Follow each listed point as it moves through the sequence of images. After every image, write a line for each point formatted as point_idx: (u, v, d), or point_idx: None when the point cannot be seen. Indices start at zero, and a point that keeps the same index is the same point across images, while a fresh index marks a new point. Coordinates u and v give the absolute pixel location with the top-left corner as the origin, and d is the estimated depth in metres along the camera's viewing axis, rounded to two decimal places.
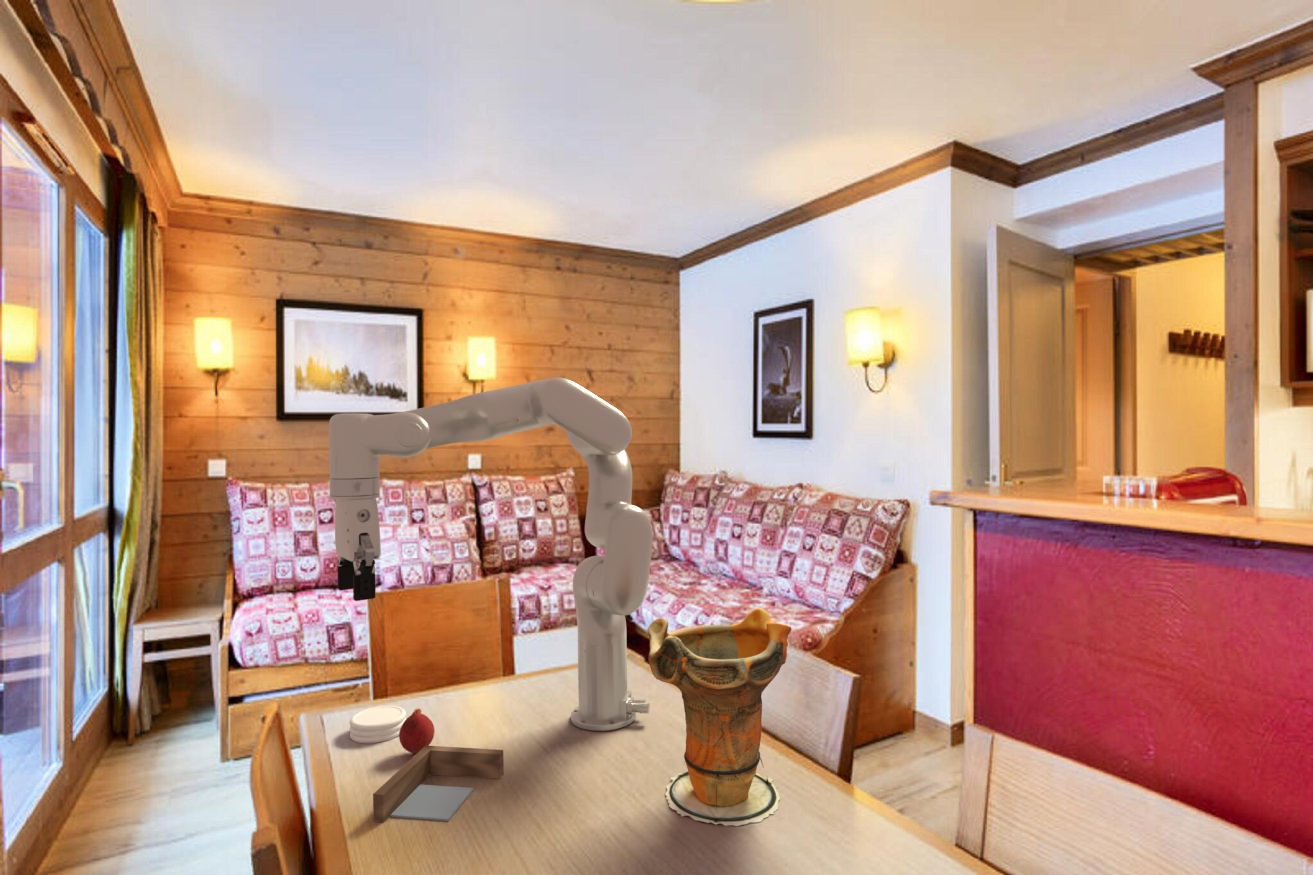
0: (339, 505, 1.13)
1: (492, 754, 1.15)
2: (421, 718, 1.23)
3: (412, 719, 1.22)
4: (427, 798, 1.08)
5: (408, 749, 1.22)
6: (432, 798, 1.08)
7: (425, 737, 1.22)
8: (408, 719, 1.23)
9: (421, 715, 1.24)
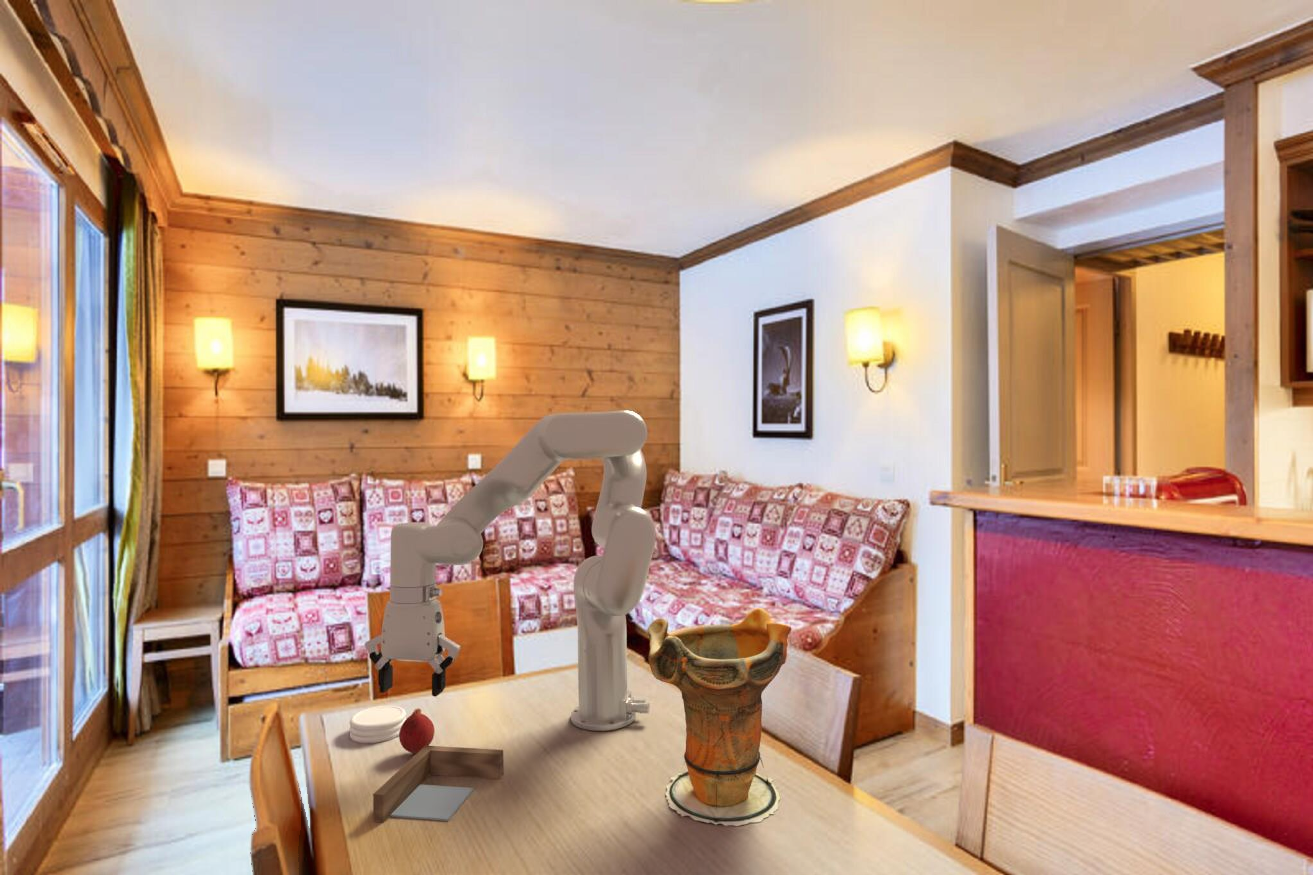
0: (408, 611, 1.21)
1: (492, 754, 1.15)
2: (421, 718, 1.23)
3: (412, 719, 1.22)
4: (427, 798, 1.08)
5: (408, 749, 1.22)
6: (432, 798, 1.08)
7: (425, 737, 1.22)
8: (408, 719, 1.23)
9: (421, 715, 1.24)
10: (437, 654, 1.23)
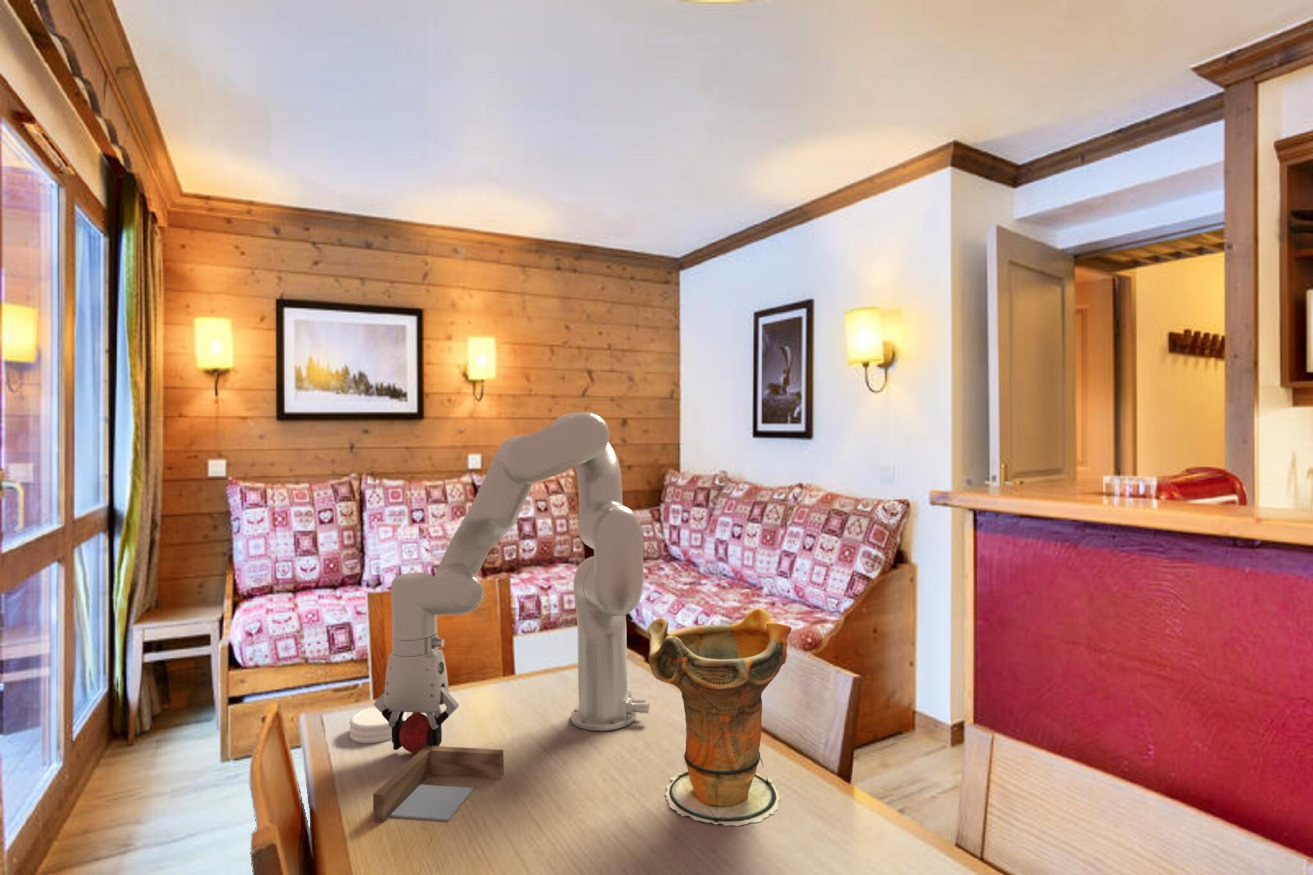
0: (411, 663, 1.21)
1: (492, 754, 1.15)
2: (421, 718, 1.23)
3: (412, 719, 1.22)
4: (427, 798, 1.08)
5: (408, 749, 1.22)
6: (432, 798, 1.08)
7: (425, 737, 1.22)
8: (408, 719, 1.23)
9: (421, 715, 1.24)
10: None
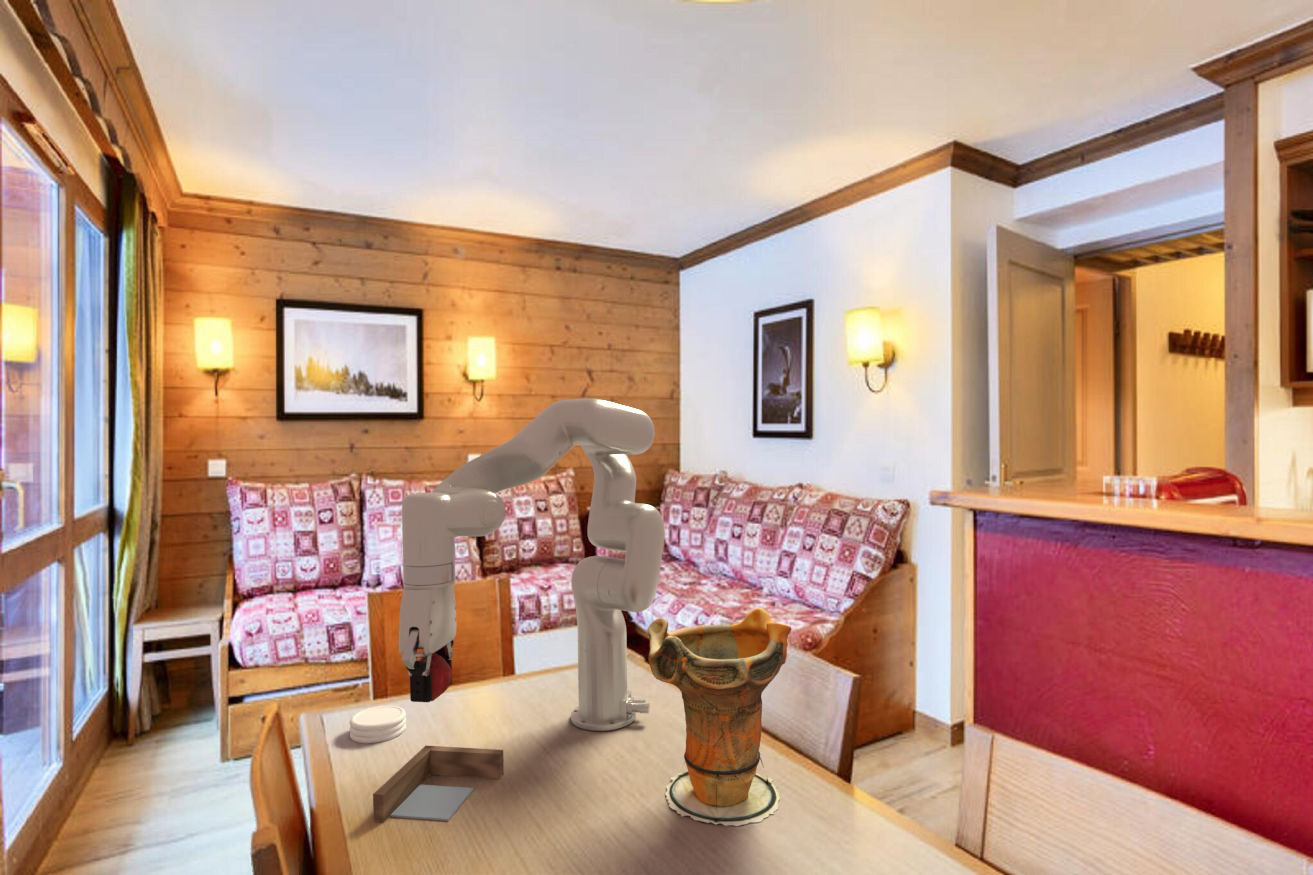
0: (447, 590, 1.07)
1: (492, 754, 1.15)
2: None
3: (439, 657, 1.07)
4: (427, 798, 1.08)
5: (445, 689, 1.07)
6: (432, 798, 1.08)
7: None
8: (435, 660, 1.06)
9: None
10: None
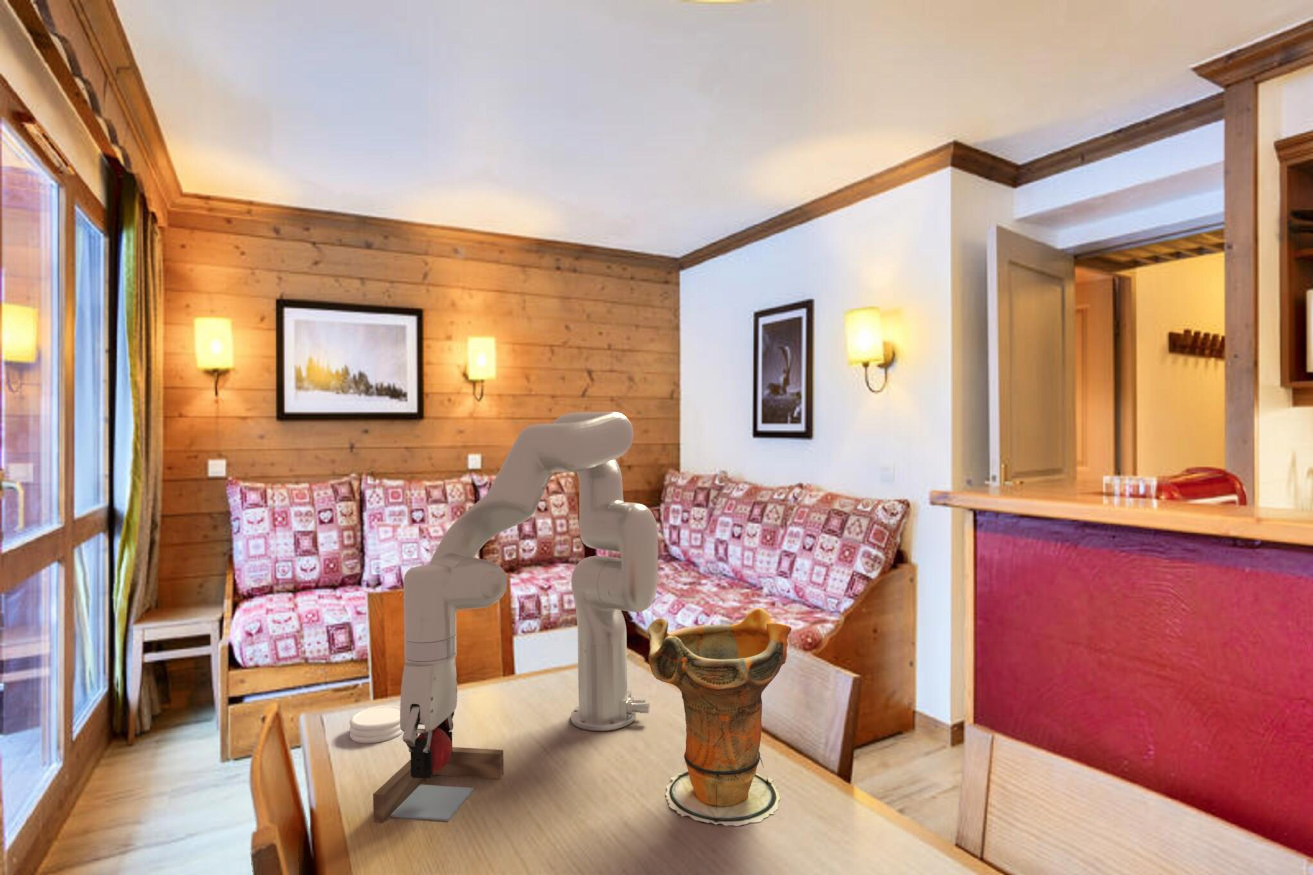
0: (448, 663, 1.07)
1: (492, 754, 1.15)
2: None
3: (440, 731, 1.07)
4: (427, 798, 1.08)
5: (445, 764, 1.07)
6: (432, 798, 1.08)
7: None
8: (435, 734, 1.06)
9: None
10: None
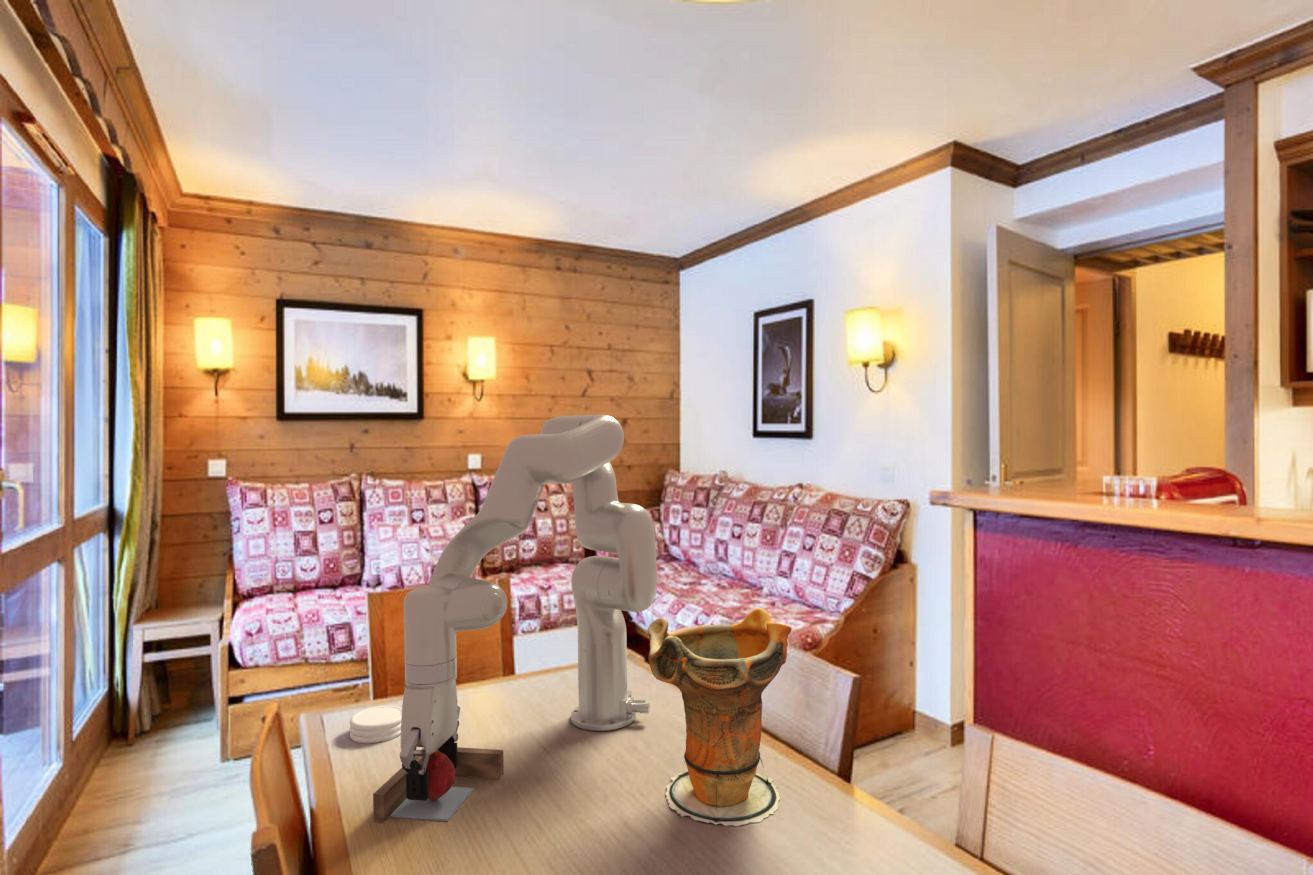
0: (448, 685, 1.07)
1: (492, 754, 1.15)
2: (442, 753, 1.09)
3: (443, 757, 1.07)
4: None
5: None
6: None
7: None
8: (439, 760, 1.06)
9: None
10: None
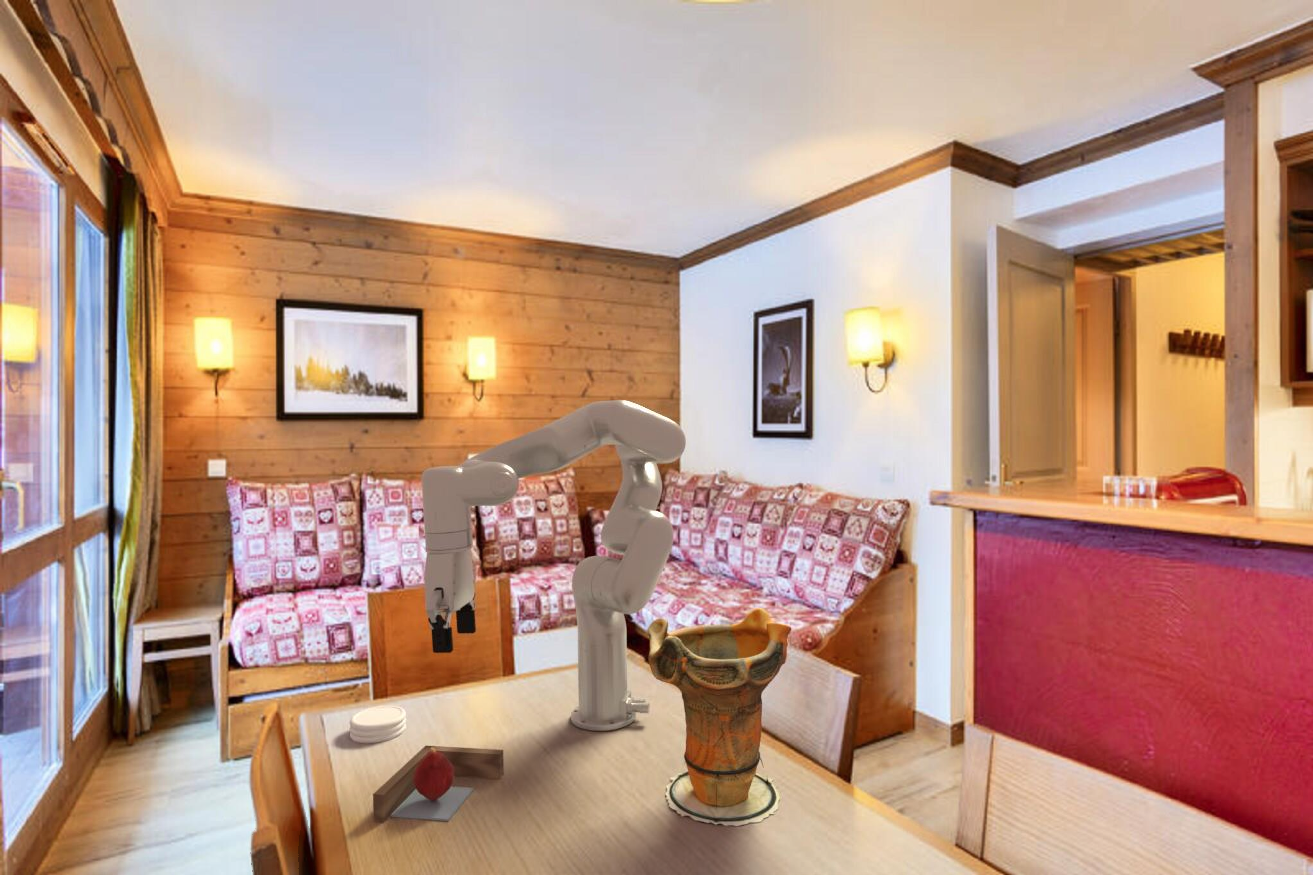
0: (465, 554, 1.18)
1: (492, 754, 1.15)
2: (440, 753, 1.09)
3: (442, 757, 1.07)
4: None
5: (447, 789, 1.07)
6: None
7: None
8: (437, 760, 1.06)
9: None
10: None
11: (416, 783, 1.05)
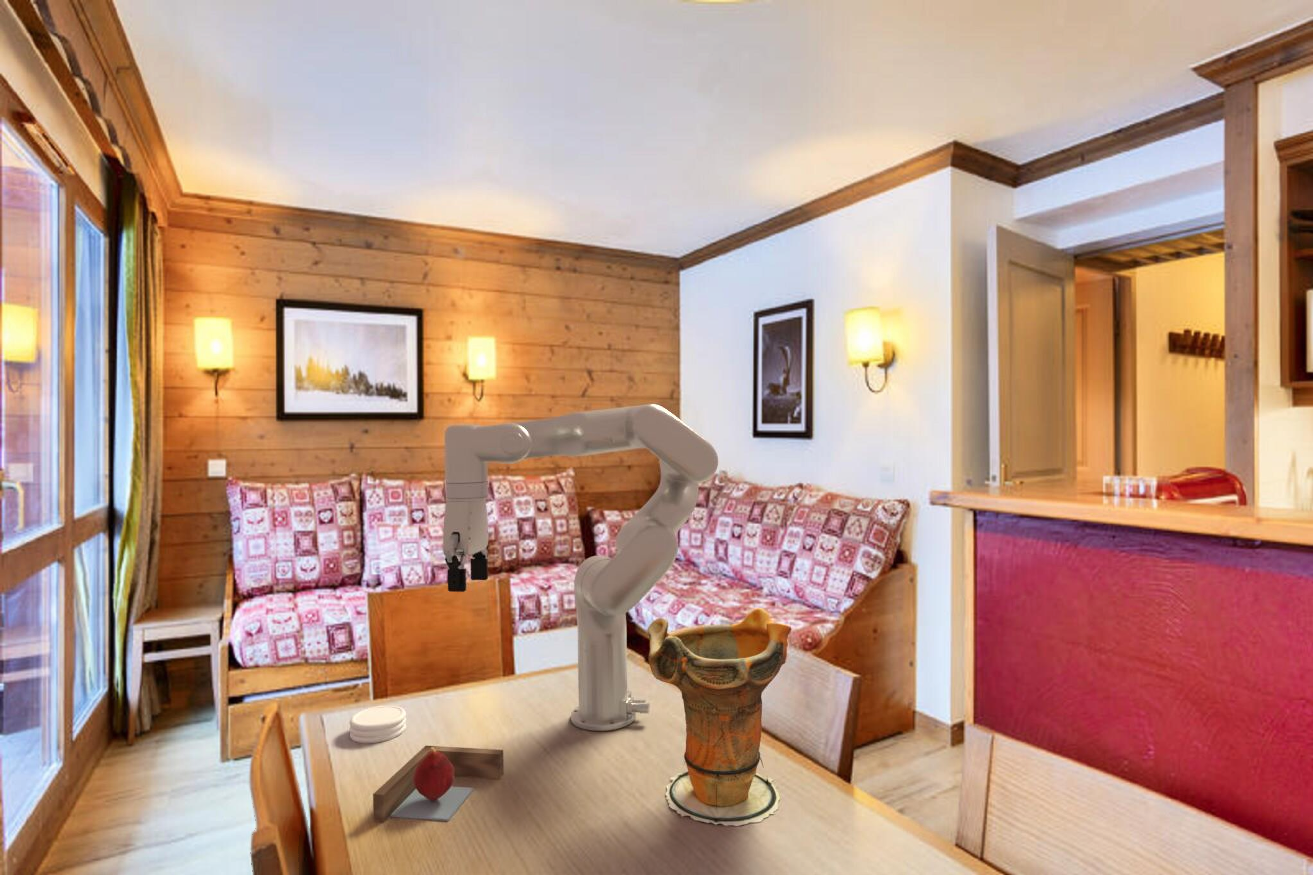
0: (481, 505, 1.30)
1: (492, 754, 1.15)
2: (440, 753, 1.09)
3: (442, 757, 1.07)
4: None
5: (447, 789, 1.07)
6: None
7: None
8: (438, 760, 1.06)
9: None
10: None
11: (416, 783, 1.05)
